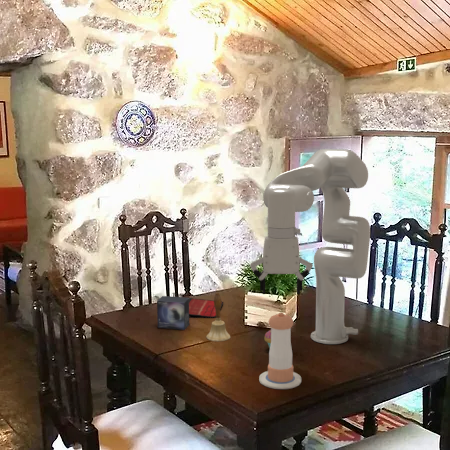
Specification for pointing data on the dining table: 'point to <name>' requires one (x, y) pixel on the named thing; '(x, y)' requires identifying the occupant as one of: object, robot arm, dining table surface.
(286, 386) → the coaster
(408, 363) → the dining table surface
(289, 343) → the pepper shaker
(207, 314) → the binder
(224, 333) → the hand bell
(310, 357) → the dining table surface
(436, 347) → the dining table surface
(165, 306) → the small box
